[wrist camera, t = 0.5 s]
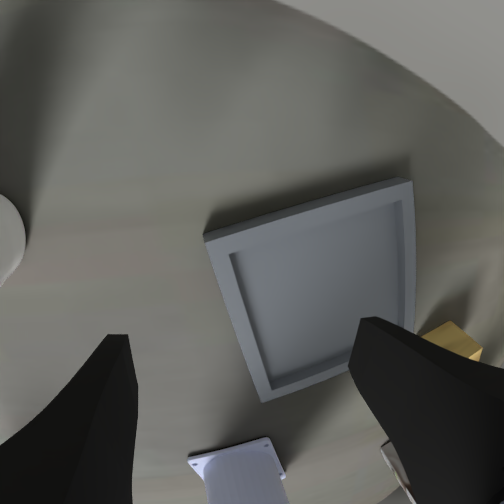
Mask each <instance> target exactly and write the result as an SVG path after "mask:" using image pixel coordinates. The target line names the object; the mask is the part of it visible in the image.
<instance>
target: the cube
mask: <svg viewBox="0 0 504 504" xmlns="http://www.w3.org/2000/svg"><path fill="white" fill-rule="evenodd" d="M421 337H422V338H424V339H426V340H428V341H430V342H432V343H434V344H436V345H438V346H440V347H443V348H445V349H447V350H449V351H452V352H454V353H456V354H459V355H461V356H464V357H466V358H469V359H472V360H475V361H478V362H479V359H480V355H481V352H482V347H481V346H480V345H479V344H478V343H477V342H475V341H474V340H473V339H472V338H471V337H470V336H468V335H467V334H466V333H465V332H464V331H463V330H461V329H460V328H459V327H458V326H457V325H455V324H454V323H453V322H452V321H451V320H450V321H448V322H446V323H444V324H443V325H441V326H439V327H437V328H436V329H434V330H432V331H430V332H428V333H427V334H425V335H423V336H421Z"/></svg>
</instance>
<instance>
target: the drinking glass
mask: <svg viewBox="0 0 504 504" xmlns="http://www.w3.org/2000/svg"><path fill="white" fill-rule="evenodd" d="M25 246H26V235H25V228H24V224H23V221H22V219H21V216H20V214H19V212H18V210H17V209H16V207H15V206H14V205H13V204H12V202H11V201H10V200H9V199H7V198H6V197H5V196H3V195H1V194H0V287H1V286H2V285H3V283H4V282H5V281H6V279H7V278H8V277H9V276H10V275H11V274H12V273H13V272H14V271H15V270H16V269H17V267H18V266H19V264H20V263H21V261H22V258H23V256H24V252H25Z"/></svg>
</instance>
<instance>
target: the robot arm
mask: <svg viewBox="0 0 504 504" xmlns="http://www.w3.org/2000/svg"><path fill="white" fill-rule="evenodd" d="M348 368H349V371H350V373H351V375H352V378H353V380H354V382H355V384H356V386H357V388H358V390H359V392H360V394H361V395H362V397H363V399H364V400H365V402H366V403H367V405H368V406H369V408H370V410H371V411H372V413H373V414H374V416H375V417H376V419H377V420H378V422H379V423H380V425H381V427H382V428H383V430H384V431H385V433H386V434H387V436H388V437H389V439H390V441H391V443H392V444H393V446H394V448H395V450H396V452H397V455H398V457H399V459H400V461H401V463H402V465H403V468H404V470H405V472H406V475H407V477H408V480H409V482H410V485H411V488H412V490H413V493H414V497H415V500H416V503H417V504H504V369H502V368H498V367H494V366H490V365H487V364H484V363H481V362H478V361H475V360H472V359H469V358H466V357H464V356H461V355H459V354H456V353H454V352H452V351H449V350H447V349H445V348H443V347H440V346H438V345H436V344H434V343H432V342H430V341H428V340H426V339H424V338H422V337H420V336H418V335H416V334H414V333H412V332H410V331H408V330H406V329H404V328H402V327H400V326H398V325H395V324H393V323H391V322H389V321H387V320H384V319H382V318H379V317H377V316H373V317H366V318H360V323H359V326H358V330H357V334H356V338H355V342H354V345H353V349H352V353H351V356H350V360H349V363H348ZM137 420H138V383H137V379H136V374H135V369H134V364H133V359H132V354H131V349H130V343H129V338H128V334H108V335H107V336H106V337H105V338H104V339H103V341H102V342H101V343H100V344H99V346H98V347H97V348H96V349H95V351H94V352H93V353H92V354H91V356H90V357H89V358H88V360H87V361H86V362H85V363H84V365H83V366H82V367H81V368H80V369H79V371H78V372H77V373H76V374H75V375H74V377H73V378H72V379H71V380H70V381H69V383H68V384H67V385H66V386H65V387H64V388H63V389H62V390H61V391H60V393H59V394H58V395H57V396H56V397H55V398H54V399H53V400H52V401H51V402H50V403H49V404H48V406H47V407H46V408H45V409H44V410H43V411H41V412H40V413H39V414H38V415H37V416H36V417H35V418H34V419H33V420H32V421H31V422H29V423H28V424H27V425H26V426H25V427H24V428H22V429H21V430H20V431H18V432H17V433H16V434H15V435H13V436H12V437H11V438H9V439H8V440H7V441H5V442H4V443H3V444H1V445H0V504H133V503H132V470H133V458H134V448H135V438H136V429H137ZM187 461H188V463H189V464H190V466H191V467H192V468H193V469H194V470H195V471H196V472H197V473H198V475H199V476H200V477H201V478H202V479H203V480H204V482H205V488H206V494H207V500H208V504H290V503H289V501H288V498H287V495H286V492H285V489H284V487H283V484H282V481H281V479H284V478H285V477H286V475H285V472H284V470H283V468H282V466H281V463H280V461H279V459H278V456H277V454H276V452H275V449H274V447H273V445H272V442H271V440H270V438H268V437H264V438H261V439H257V440H254V441H251V442H247V443H244V444H240V445H237V446H233V447H229V448H226V449H222V450H218V451H214V452H210V453H205V454H201V455H197V456H192V457H189V458H188V459H187Z"/></svg>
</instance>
